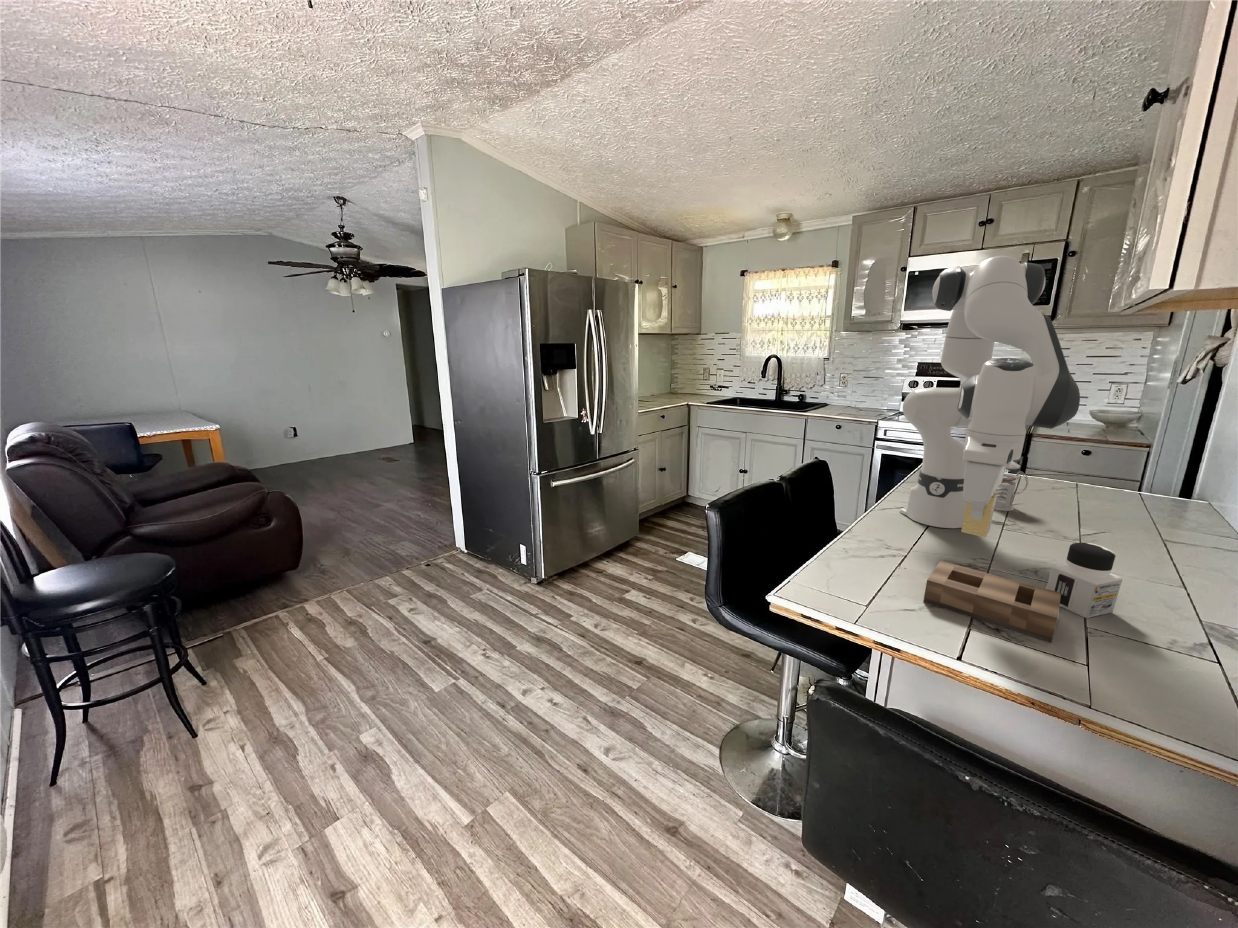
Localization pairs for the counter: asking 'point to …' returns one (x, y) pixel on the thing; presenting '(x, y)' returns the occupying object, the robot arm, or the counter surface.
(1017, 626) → the walnut socket block
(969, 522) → the light wooden square bit
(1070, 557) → the container
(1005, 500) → the french press
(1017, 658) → the counter surface
